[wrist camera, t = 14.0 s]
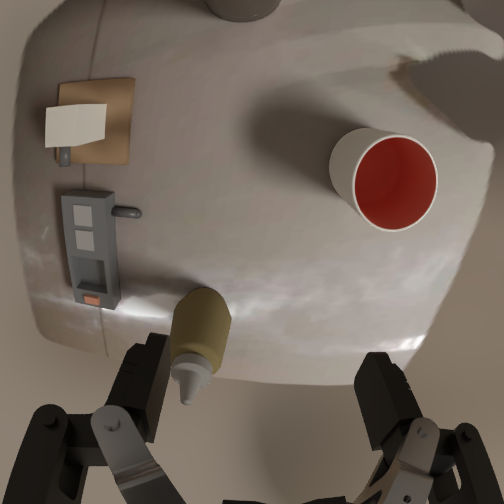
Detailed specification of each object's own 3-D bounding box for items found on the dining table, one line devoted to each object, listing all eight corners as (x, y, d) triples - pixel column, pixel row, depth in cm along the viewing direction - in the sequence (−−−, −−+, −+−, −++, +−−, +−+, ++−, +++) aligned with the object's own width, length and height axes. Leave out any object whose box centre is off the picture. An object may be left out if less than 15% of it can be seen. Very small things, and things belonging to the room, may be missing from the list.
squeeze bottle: (173, 315, 45) (144, 409, 29) (185, 272, 42) (153, 367, 26) (223, 330, 46) (213, 427, 30) (240, 290, 43) (235, 390, 27)
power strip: (72, 189, 36) (58, 196, 33) (143, 194, 37) (133, 202, 34) (83, 291, 43) (73, 304, 40) (145, 303, 44) (139, 317, 41)
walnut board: (64, 84, 30) (60, 84, 29) (135, 78, 30) (132, 77, 29) (60, 161, 34) (56, 163, 33) (128, 163, 35) (125, 164, 34)
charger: (77, 105, 30) (46, 108, 24) (106, 103, 31) (78, 104, 24) (75, 156, 33) (45, 167, 27) (104, 156, 33) (76, 167, 27)
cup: (316, 138, 34) (340, 147, 25) (388, 120, 33) (430, 125, 24) (336, 212, 38) (362, 244, 29) (403, 192, 37) (442, 217, 28)
